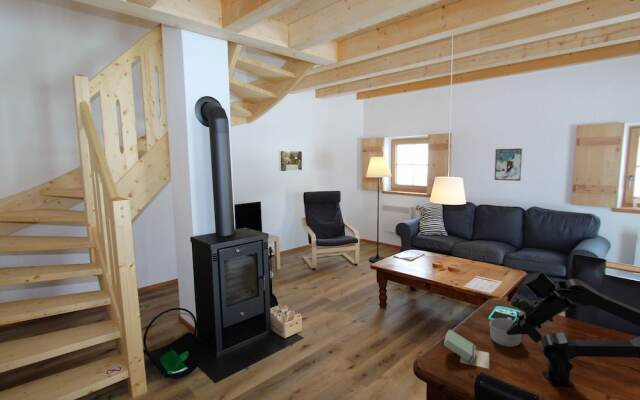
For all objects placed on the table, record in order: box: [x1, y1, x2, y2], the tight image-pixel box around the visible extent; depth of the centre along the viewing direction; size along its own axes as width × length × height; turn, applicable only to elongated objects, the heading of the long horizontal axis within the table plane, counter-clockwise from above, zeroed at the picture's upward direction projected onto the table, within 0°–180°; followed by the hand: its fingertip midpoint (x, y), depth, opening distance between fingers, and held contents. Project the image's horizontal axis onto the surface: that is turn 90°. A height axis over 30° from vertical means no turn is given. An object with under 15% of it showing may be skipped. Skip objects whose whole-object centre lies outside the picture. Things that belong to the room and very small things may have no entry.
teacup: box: [488, 317, 522, 348], centre depth 132 cm, size 14×11×8 cm
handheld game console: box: [487, 305, 522, 321], centre depth 153 cm, size 10×16×1 cm, turn 140°
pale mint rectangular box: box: [443, 328, 476, 363], centre depth 123 cm, size 3×8×10 cm
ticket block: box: [459, 349, 490, 370], centre depth 121 cm, size 9×10×2 cm
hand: (507, 333), depth 115 cm, fingers closed
